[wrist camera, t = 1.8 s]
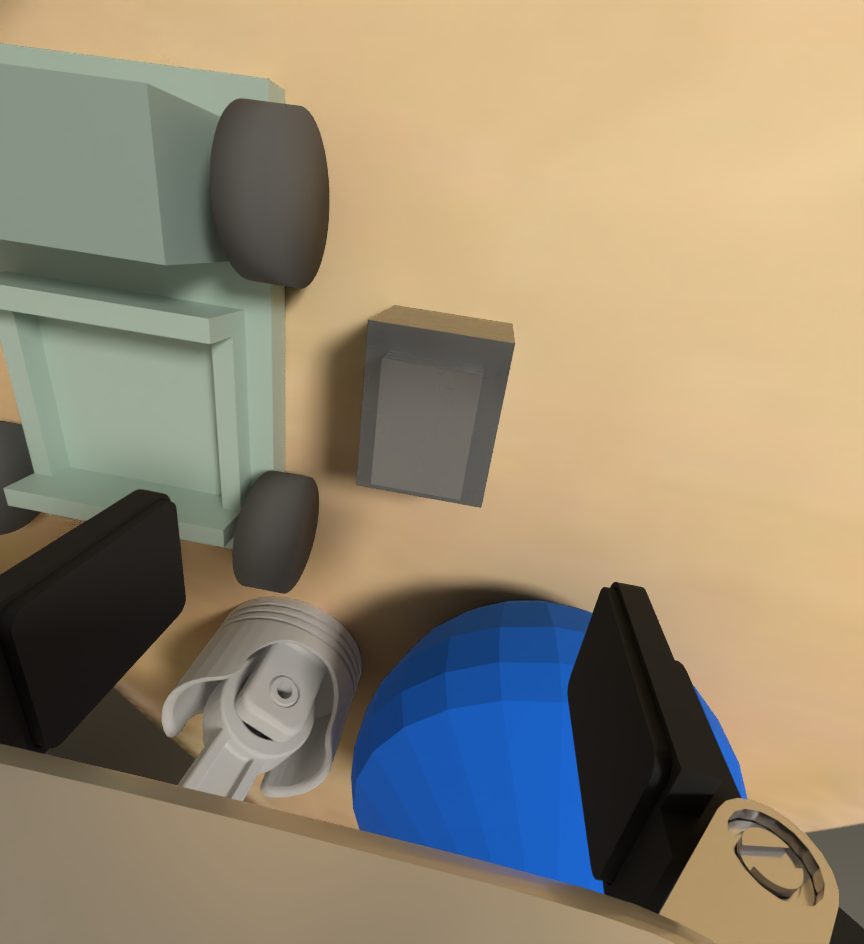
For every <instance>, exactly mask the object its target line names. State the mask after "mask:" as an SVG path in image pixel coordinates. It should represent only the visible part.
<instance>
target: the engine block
mask: <svg viewBox="0 0 864 944" xmlns="http://www.w3.org/2000/svg"><path fill="white" fill-rule="evenodd" d="M514 346H515V339H514V332H513V324H511V323H504V322H498V321H492V320H485V319H479V318H473V317H466V316H460V315H454V314H447V313H441V312H435V311H428V310H422V309H416V308H409V307H403V306H397V305H394V306H392V307H390V308H389V309H387V310H385V311H383V312H381V313H380V314H378V315H376V316H374V317H372V318H370V319H369V320H368V330H367V343H366V357H365V371H364V385H363V399H362V413H361V426H360V440H359V454H358V468H357V482H356V485H359V486H365V487H370V488H376V489H381V490H387V491H392V492H398V493H403V494H409V495H414V496H420V497H425V498H431V499H436V500H441V501H447V502H452V503H458V504H463V505H469V506H474V507H480V508H481V506H482V501H483V496H484V492H485V487H486V482H487V477H488V472H489V467H490V462H491V458H492V453H493V448H494V443H495V438H496V433H497V428H498V424H499V419H500V414H501V409H502V404H503V399H504V394H505V390H506V385H507V380H508V375H509V370H510V365H511V360H512V356H513V351H514Z"/></svg>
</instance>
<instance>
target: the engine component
mask: <svg viewBox="0 0 864 944" xmlns="http://www.w3.org/2000/svg"><path fill="white" fill-rule="evenodd" d="M361 672H362V660H361V654H360V652H359V649H358V647H357V644H356V642H355V641H354V639H353V638H352V636H351V635H350V633H349V632H348V631H347V630H346V629H345V628H344V626H343V625H342V624H341V623H339V622H338V621H337V620H336V619H335V618H334V617H332V616H331V615H329V614H327V613H326V612H324V611H323V610H321V609H319V608H317V607H315V606H313V605H311V604H308V603H305V602H302V601H299V600H295V599H290V598H285V597H261V598H257V599H253V600H249V601H247V602H245V603H243V604H241V605H239V606H237V607H236V608H235V609H234V610H233V611H232V612H230V613H229V615H228V616H227V617H226V619H225V620H224V622H223V623H222V624H221V626H220V627H219V628H218V630H217V631H216V632H215V634H214V635H213V636H212V638H211V639H210V640H209V642H208V643H207V645H206V646H205V647H204V649H203V650H202V651H201V653H200V654H199V655H198V657H197V658H196V659H195V661H194V662H193V663H192V665H191V666H190V667H189V669H188V670H187V672H186V673H185V674H184V676H183V677H182V678H181V680H180V681H179V682H178V684H177V685H176V686H175V688H174V689H173V690H172V692H171V693H170V694H169V696H168V697H167V699H166V701H165V703H164V705H163V709H162V724H163V729H164V731H165V733H166V735H167V736H168V737H174V736H176V735H177V734H178V733H179V732H180V731H181V730H182V729H183V727H184V726H185V724H186V723H187V721H188V720H189V719H190V718H191V717H192V716H194V715H196V714H199V713H203V733H204V734H203V743H204V745H205V747H204V748H203V750H202V751H201V753H200V754H199V755H198V757H197V758H196V760H195V761H194V762H193V764H192V765H191V767H190V768H189V770H188V771H187V772H186V774H185V775H184V777H183V778H182V779H181V781H180V782H179V784H178V785H177V786H181V787H185V788H190V789H194V790H198V791H202V792H206V793H210V794H214V795H219V796H223V797H227V798H231V799H235V800H239V801H243V800H244V798H245V796H246V795H247V793H248V791H249V789H250V787H251V786H252V784H253V782H254V780H255V779H256V777H257V775H258V774H262V773H265V772H266V773H265V775H264V778H263V780H262V783H261V785H260V788H261V792H262V793H263V795H265V796H268V797H290V796H295V795H299V794H303V793H306V792H308V791H310V790H312V789H314V788H315V787H317V786H318V785H320V784H321V783H322V781H323V780H324V779H325V778H326V776H327V775H328V773H329V771H330V769H331V765H332V762H333V759H334V756H335V753H336V750H337V747H338V744H339V741H340V738H341V735H342V732H343V729H344V726H345V723H346V719H347V716H348V713H349V710H350V707H351V704H352V701H353V698H354V695H355V692H356V689H357V686H358V683H359V680H360V676H361Z"/></svg>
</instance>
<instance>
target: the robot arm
mask: <svg viewBox="0 0 864 944" xmlns="http://www.w3.org/2000/svg"><path fill="white" fill-rule="evenodd" d="M185 601H186V595H185V586H184V576H183V566H182V556H181V546H180V537H179V527H178V517H177V508H176V505H175V503H173V502H171V500H170V498H169V496H168V495H166V494H164V493H159V492H154V491H149V490H144V489H137V490H135V491H133V492H132V493H130V494H128V495H127V496H125V497H124V498H122V499H120V500H119V501H117V502H116V503H114V504H112V505H111V506H109V507H108V508H106V509H104V510H103V511H101V512H100V513H98V514H97V515H95V516H93V517H92V518H90V519H89V520H87V521H85V522H84V523H82V524H81V525H79V526H77V527H76V528H74V529H73V530H71V531H69V532H68V533H66V534H65V535H63V536H61V537H60V538H58V539H57V540H55V541H54V542H52V543H50V544H49V545H47V546H46V547H44V548H42V549H41V550H39V551H38V552H36V553H34V554H33V555H31V556H30V557H28V558H26V559H25V560H23V561H22V562H20V563H18V564H17V565H15V566H14V567H12V568H11V569H9V570H7V571H6V572H4V573H3V574H1V575H0V944H864V929H863V928H862V927H861V926H860V925H859V924H858V923H857V922H855V921H854V920H853V919H852V918H851V917H850V916H849V915H847V914H846V913H845V912H844V911H843V910H842V909H841V908H839V890H838V887H837V884H836V881H835V878H834V875H833V872H832V870H831V868H830V867H829V865H828V863H827V862H826V860H825V858H824V857H823V855H822V853H821V852H820V851H819V850H818V848H817V847H816V846H815V845H814V843H813V842H812V841H811V840H810V839H809V837H808V836H807V835H806V834H805V833H804V832H803V831H802V830H800V829H799V828H798V827H797V826H796V825H795V824H794V823H793V822H791V821H790V820H789V819H788V818H786V817H785V816H783V815H782V814H780V813H779V812H777V811H775V810H774V809H772V808H771V807H769V806H766V805H764V804H761V803H759V802H757V801H754V800H749V799H742V798H741V796H740V793H739V791H738V789H737V786H736V784H735V782H734V779H733V777H732V775H731V772H730V770H729V768H728V766H727V763H726V761H725V759H724V756H723V754H722V752H721V749H720V747H719V745H718V742H717V740H716V738H715V736H714V733H713V731H712V729H711V726H710V724H709V722H708V719H707V717H706V715H705V712H704V710H703V708H702V705H701V703H700V701H699V699H698V696H697V694H696V692H695V689H694V687H693V685H692V682H691V680H690V678H689V675H688V673H687V671H686V669H685V668H684V666H683V664H681V663H680V662H679V661H676V660H674V657H673V655H672V653H671V650H670V648H669V645H668V643H667V641H666V638H665V636H664V633H663V631H662V629H661V626H660V624H659V621H658V619H657V616H656V614H655V612H654V609H653V607H652V604H651V602H650V600H649V597H648V595H647V592H646V590H645V589H644V588H643V587H639V586H634V585H629V584H624V583H618V582H614V583H613V584H612V585H611V587H610V588H607V587H603V588H602V589H601V591H600V594H599V597H598V599H597V602H596V605H595V608H594V611H593V614H592V616H591V619H590V622H589V625H588V628H587V630H586V633H585V636H584V639H583V642H582V644H581V647H580V650H579V653H578V656H577V659H576V661H575V664H574V667H573V670H572V673H571V675H570V678H569V682H568V690H567V696H568V705H569V712H570V719H571V727H572V734H573V741H574V749H575V756H576V763H577V771H578V778H579V785H580V792H581V800H582V807H583V814H584V822H585V829H586V836H587V844H588V851H589V858H590V866H591V871H592V874H593V877H594V878H595V879H596V880H600V881H602V882H603V889H604V894H602V893H598V892H595V891H592V890H589V889H586V888H583V887H580V886H576V885H572V884H568V883H565V882H561V881H557V880H554V879H550V878H546V877H542V876H539V875H535V874H531V873H527V872H524V871H520V870H516V869H512V868H509V867H505V866H501V865H498V864H494V863H490V862H486V861H483V860H479V859H475V858H471V857H467V856H463V855H459V854H455V853H451V852H447V851H443V850H439V849H435V848H431V847H427V846H423V845H418V844H414V843H410V842H406V841H402V840H398V839H394V838H390V837H386V836H382V835H378V834H374V833H370V832H366V831H362V830H358V829H354V828H350V827H346V826H342V825H338V824H334V823H330V822H326V821H322V820H318V819H313V818H309V817H305V816H301V815H297V814H293V813H289V812H285V811H280V810H276V809H272V808H268V807H264V806H260V805H256V804H252V803H248V802H243V801H239V800H235V799H231V798H227V797H223V796H219V795H214V794H210V793H206V792H202V791H198V790H194V789H190V788H185V787H181V786H177V785H172V784H169V783H164V782H160V781H156V780H152V779H148V778H144V777H139V776H135V775H131V774H126V773H122V772H118V771H114V770H110V769H106V768H101V767H97V766H93V765H88V764H84V763H80V762H76V761H71V760H67V759H63V758H58V757H55V756H50V755H46V754H45V752H46V751H47V750H48V749H49V748H54V747H56V746H58V745H60V744H61V743H62V742H63V741H64V740H65V739H66V738H67V737H68V736H69V734H70V733H71V732H72V731H73V730H74V729H75V728H76V727H77V726H78V725H79V724H80V723H81V722H82V720H83V719H84V718H85V717H86V716H87V715H88V714H89V713H90V712H91V711H92V710H93V708H94V707H95V706H96V705H97V704H98V703H99V702H100V701H101V700H102V699H103V698H104V696H105V695H106V694H107V693H108V692H109V691H110V690H111V689H112V688H113V687H114V686H115V684H116V683H117V682H118V681H119V680H120V679H121V678H122V677H123V676H124V675H125V673H126V672H127V671H128V670H129V669H130V668H131V667H132V666H133V665H134V664H135V663H136V661H137V660H138V659H139V658H140V657H141V656H142V655H143V654H144V653H145V652H146V651H147V649H148V648H149V647H150V646H151V645H152V644H153V643H154V642H155V641H156V640H157V639H158V637H159V636H160V635H161V634H162V633H163V632H164V631H165V630H166V629H167V628H168V627H169V625H170V624H171V623H172V622H173V621H174V620H175V619H176V618H177V617H178V616H179V614H180V613H181V612H182V610H183V608H184V605H185Z"/></svg>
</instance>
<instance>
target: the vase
mask: <svg viewBox="0 0 864 944" xmlns="http://www.w3.org/2000/svg"><path fill="white" fill-rule="evenodd" d="M592 614H593V613H591V612H588V611H585V610H582V609H579V608H575V607H572V606H567V605H562V604H557V603H552V602H546V601H541V600H525V601H506V602H501V603H497V604H492V605H488V606H483V607H479V608H476V609H473V610H470V611H467V612H465V613H463V614H461V615H459V616H457V617H455V618H453V619H451V620H449V621H447V622H445V623H443V624H441V625H439V626H436V627H435V628H434V629H433V630H431V631H430V632H429V633H428V634H427V635H426V636H425V637H424V638H422V639H421V640H420V641H419V642H418V643H417V644H416V645H415V646H413V647H412V648H411V650H410V651H409V652H408V653H407V654H406V655H405V656H404V657H403V658H402V660H401V661H400V662H399V663H398V664H397V665H396V666H395V667H394V668H393V670H392V671H391V672H390V673H389V674H388V675H387V676H386V677H385V678H384V680H383V681H382V682H381V684H380V686H379V688H378V689H377V691H376V693H375V695H374V697H373V699H372V700H371V702H370V704H369V706H368V708H367V709H366V712H365V715H364V719H363V722H362V725H361V728H360V731H359V734H358V737H357V740H356V744H355V747H354V756H353V765H352V775H351V781H352V797H353V809H354V813H355V816H356V819H357V822H358V826H359V829H360V830H362V831H366V832H370V833H374V834H378V835H382V836H386V837H390V838H394V839H398V840H402V841H406V842H410V843H414V844H418V845H423V846H427V847H431V848H435V849H439V850H443V851H447V852H451V853H455V854H459V855H463V856H467V857H471V858H475V859H479V860H483V861H486V862H490V863H494V864H498V865H501V866H505V867H509V868H512V869H516V870H520V871H524V872H527V873H531V874H535V875H539V876H542V877H546V878H550V879H554V880H557V881H561V882H565V883H568V884H572V885H576V886H580V887H583V888H586V889H589V890H592V891H595V892H598V893H602V894H604V889H603V882H602V881H600V880H596V879H595V878H594V877H593V874H592V871H591V866H590V858H589V851H588V844H587V836H586V829H585V822H584V814H583V807H582V800H581V792H580V785H579V778H578V771H577V763H576V756H575V749H574V741H573V734H572V727H571V719H570V712H569V705H568V696H567V690H568V682H569V678H570V675H571V673H572V670H573V667H574V664H575V661H576V659H577V656H578V653H579V650H580V647H581V644H582V642H583V639H584V636H585V633H586V630H587V628H588V625H589V622H590V619H591V616H592ZM693 687H694V686H693ZM694 689H695V692H696V694H697V696H698V699H699V701H700V703H701V705H702V708H703V710H704V712H705V715H706V717H707V719H708V722H709V724H710V726H711V729H712V731H713V733H714V736H715V738H716V740H717V742H718V745H719V747H720V749H721V752H722V754H723V756H724V759H725V761H726V763H727V766H728V768H729V770H730V772H731V775H732V777H733V779H734V782H735V784H736V786H737V789H738V791H739V793H740V796H741V798H742V799H747V795H746V791H745V787H744V782H743V778H742V774H741V769H740V765H739V762H738V760H737V758H736V756H735V754H734V752H733V750H732V748H731V746H730V744H729V741H728V739H727V737H726V735H725V733H724V731H723V729H722V727H721V725H720V723H719V721H718V719H717V718H716V716H715V715H714V714H713V712H712V711H711V709H710V708H709V706H708V705H707V704H706V702H705V701H704V699H703V698H702V697H701V695H700V694H699V692H698V691H697V690H696V688H695V687H694Z"/></svg>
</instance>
